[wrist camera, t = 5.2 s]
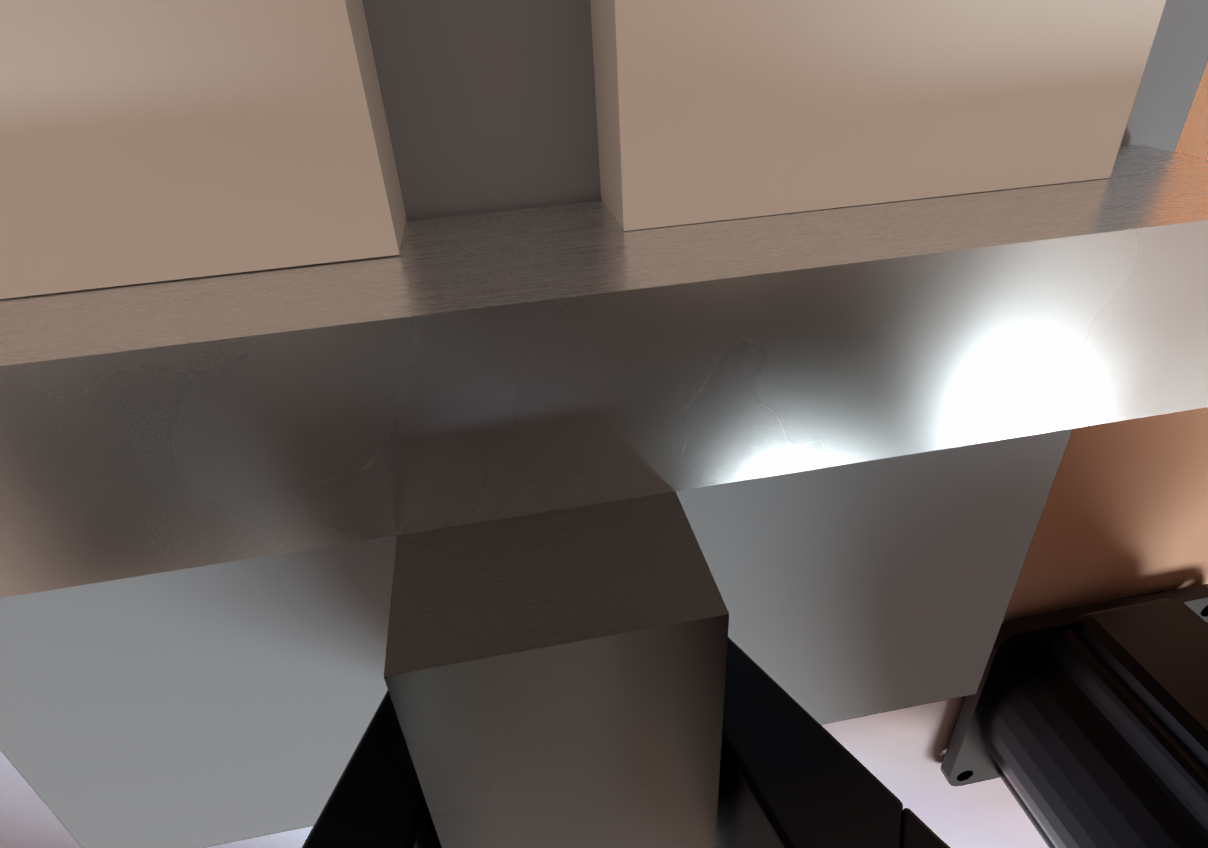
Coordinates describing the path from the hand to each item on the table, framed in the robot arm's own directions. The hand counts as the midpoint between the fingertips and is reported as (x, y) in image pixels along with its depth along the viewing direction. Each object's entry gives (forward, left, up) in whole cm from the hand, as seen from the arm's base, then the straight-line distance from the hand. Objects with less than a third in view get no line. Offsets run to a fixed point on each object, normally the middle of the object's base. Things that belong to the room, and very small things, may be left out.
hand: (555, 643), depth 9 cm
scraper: (+1, 0, -1) cm, 2 cm away
